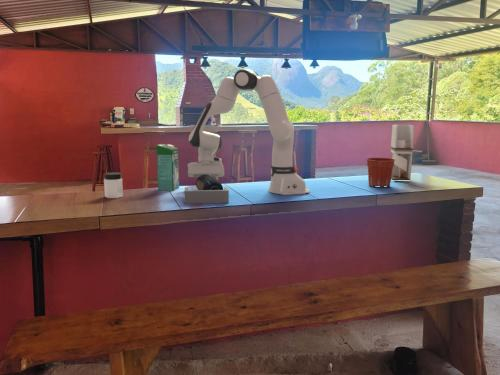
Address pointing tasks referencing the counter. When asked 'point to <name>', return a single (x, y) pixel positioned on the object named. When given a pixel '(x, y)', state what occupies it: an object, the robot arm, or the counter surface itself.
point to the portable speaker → (208, 183)
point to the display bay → (206, 196)
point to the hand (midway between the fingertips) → (206, 182)
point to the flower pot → (380, 171)
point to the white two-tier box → (402, 151)
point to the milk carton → (167, 167)
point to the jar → (113, 185)
